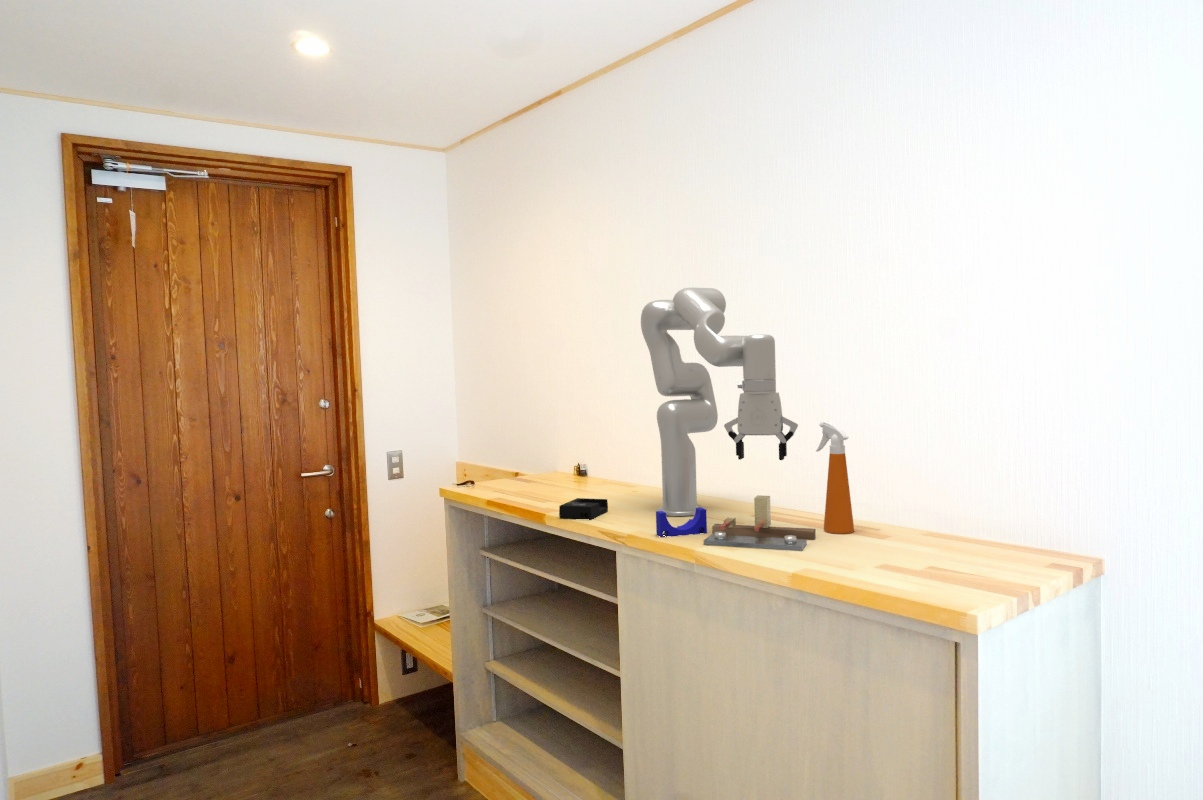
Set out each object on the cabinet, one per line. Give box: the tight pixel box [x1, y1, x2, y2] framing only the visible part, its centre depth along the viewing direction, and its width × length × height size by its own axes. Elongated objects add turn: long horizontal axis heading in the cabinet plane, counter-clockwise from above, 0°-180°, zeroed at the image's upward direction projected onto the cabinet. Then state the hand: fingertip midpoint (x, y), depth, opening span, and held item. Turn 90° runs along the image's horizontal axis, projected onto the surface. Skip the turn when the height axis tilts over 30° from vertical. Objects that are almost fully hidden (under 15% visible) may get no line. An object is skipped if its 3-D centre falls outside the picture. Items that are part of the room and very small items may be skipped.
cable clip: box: [655, 507, 708, 538], centre depth 192 cm, size 12×4×6 cm, turn 106°
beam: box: [711, 516, 817, 541], centre depth 184 cm, size 10×24×4 cm, turn 67°
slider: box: [753, 494, 772, 531], centre depth 184 cm, size 10×3×7 cm, turn 157°
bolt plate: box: [703, 532, 808, 552], centre depth 178 cm, size 7×22×2 cm, turn 67°
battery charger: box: [558, 497, 609, 521], centre depth 220 cm, size 13×10×4 cm
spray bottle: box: [815, 421, 855, 535], centre depth 190 cm, size 7×11×26 cm, turn 25°
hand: (761, 459), depth 185 cm, fingers open, 9 cm apart
